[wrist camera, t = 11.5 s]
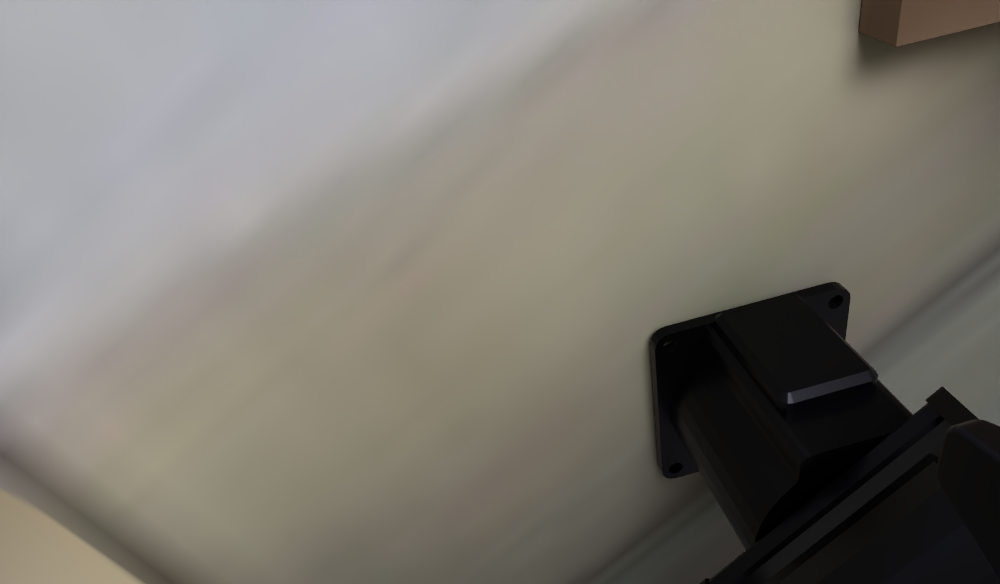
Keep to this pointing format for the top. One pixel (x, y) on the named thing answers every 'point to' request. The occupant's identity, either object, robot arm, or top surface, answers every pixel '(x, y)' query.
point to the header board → (923, 18)
